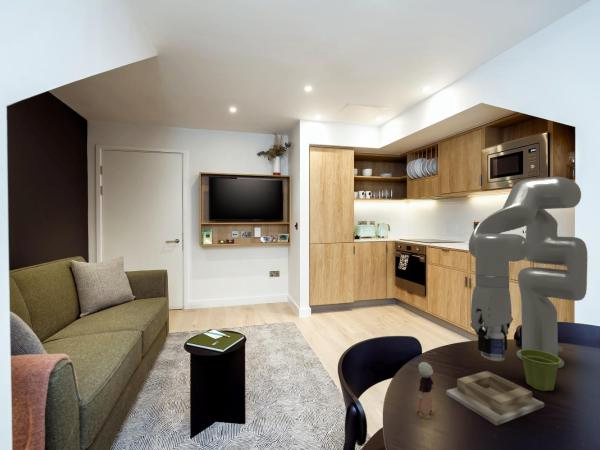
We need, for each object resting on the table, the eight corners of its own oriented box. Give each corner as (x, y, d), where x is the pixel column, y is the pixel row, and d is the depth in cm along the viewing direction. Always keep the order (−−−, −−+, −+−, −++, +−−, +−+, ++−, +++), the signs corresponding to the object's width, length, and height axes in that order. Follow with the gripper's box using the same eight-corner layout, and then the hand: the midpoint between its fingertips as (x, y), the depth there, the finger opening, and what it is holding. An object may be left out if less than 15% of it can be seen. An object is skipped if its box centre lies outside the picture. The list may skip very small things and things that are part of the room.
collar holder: (490, 380, 88) (490, 367, 88) (544, 406, 76) (544, 391, 76) (446, 394, 82) (445, 379, 82) (496, 425, 69) (496, 408, 69)
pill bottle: (508, 362, 75) (508, 327, 76) (485, 360, 76) (485, 326, 77) (499, 353, 81) (498, 320, 81) (477, 352, 82) (477, 319, 82)
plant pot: (561, 399, 79) (560, 366, 79) (517, 386, 85) (517, 356, 85) (562, 385, 86) (561, 355, 86) (521, 374, 92) (521, 346, 92)
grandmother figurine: (420, 404, 77) (420, 355, 77) (436, 409, 75) (436, 359, 75) (413, 420, 71) (412, 367, 71) (430, 426, 69) (429, 371, 69)
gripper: (499, 277, 85) (500, 340, 85) (456, 281, 79) (456, 350, 79) (527, 281, 78) (528, 350, 78) (483, 287, 72) (483, 362, 72)
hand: (492, 349), depth 79 cm, fingers closed on pill bottle, 5 cm apart
